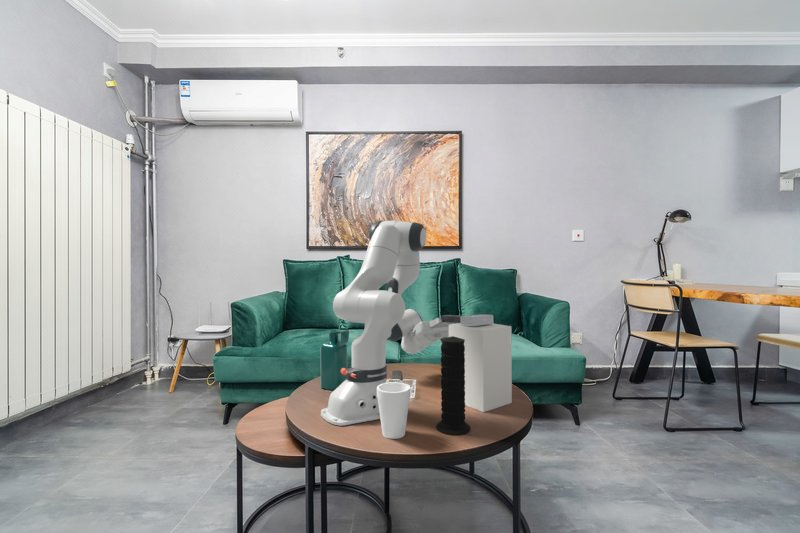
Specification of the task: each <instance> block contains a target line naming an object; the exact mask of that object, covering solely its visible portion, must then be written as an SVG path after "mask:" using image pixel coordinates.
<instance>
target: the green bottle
mask: <svg viewBox="0 0 800 533" xmlns="http://www.w3.org/2000/svg"><path fill="white" fill-rule="evenodd" d="M326 334H328V341H326V342H323V343H322V344H321V345H320V349H319V350H320V351H319V352H320V355H319V356H320V388H321V389H323V388H324V389H325V390H328V391H329V390H330V391H334V390H335V389H336V388H337V387H339V386H340V385H341V384H342V383H343V382H344V381H345V380H346V379H347V375H343V374H342V373H341V372H340V371H341V370H342V368H345V369H347V370H348V345H347V344H348V342H349V336H350V330H349V329H346V330H345V329H344V330H342V331H341V330H339V329H329V330H327V331H326ZM339 336H340V340H339ZM324 389H323V390H324Z"/></svg>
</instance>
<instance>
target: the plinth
mask: <svg viewBox="0 0 800 533" xmlns="http://www.w3.org/2000/svg"><path fill="white" fill-rule="evenodd" d="M452 336H454V337H458V338H461V339H464V340H465V342H464V346H465V351H464V354H465V356H464V357H465V363H464V365H465V367H464V368H465V375H464V376H465V378H464V379H465V386H464V387H465V397H464V398H465V407H469V408H471V409H475V410H477V411H479V412H482V413H485V412H489V411H491V410H495V409H498V408H500V407H503V406H506V405H510V404H512V402H513V401H512V400H513V396H512V395H513V392H512V391H513V390H512V389H513V387H512V386H513V382H512V379H513V376H512V374H513V373H512V370H513V367H512V366H513V364H512V362H513V360H512V355H513V354H512V350H513V349H512V344H513V343H512V325H506V324H505V325H504V324H499V323H494V324H486V325H479V326H462V325H461V323H457V324H449V337H452Z"/></svg>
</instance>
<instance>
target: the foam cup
mask: <svg viewBox="0 0 800 533" xmlns="http://www.w3.org/2000/svg"><path fill="white" fill-rule="evenodd" d="M377 398H378V405H379V412H380V419H379V420H380V426H381V433H382V436H383V437H384V438H387V439H390V440H391V439H393V440H394V439H395V440H396V439H400V438H403V437H405V435H406V429H407V428H406V427H407V422H408V421H407V419H408V413H409V405H410V398H411V386H410V384H407V383H405V382H399V381H398V382H396V381H391V382H386V383H384V384H380V385H378V386H377Z"/></svg>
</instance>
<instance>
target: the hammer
mask: <svg viewBox="0 0 800 533" xmlns="http://www.w3.org/2000/svg"><path fill="white" fill-rule="evenodd" d="M441 320H442V322H451V323H461V325H462V326H479V325H486V324H495V323H494V315H493V314H473V315H472V314H471V315H455V314H454V315H453V314H445V315H444V314H443V315H441Z"/></svg>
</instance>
